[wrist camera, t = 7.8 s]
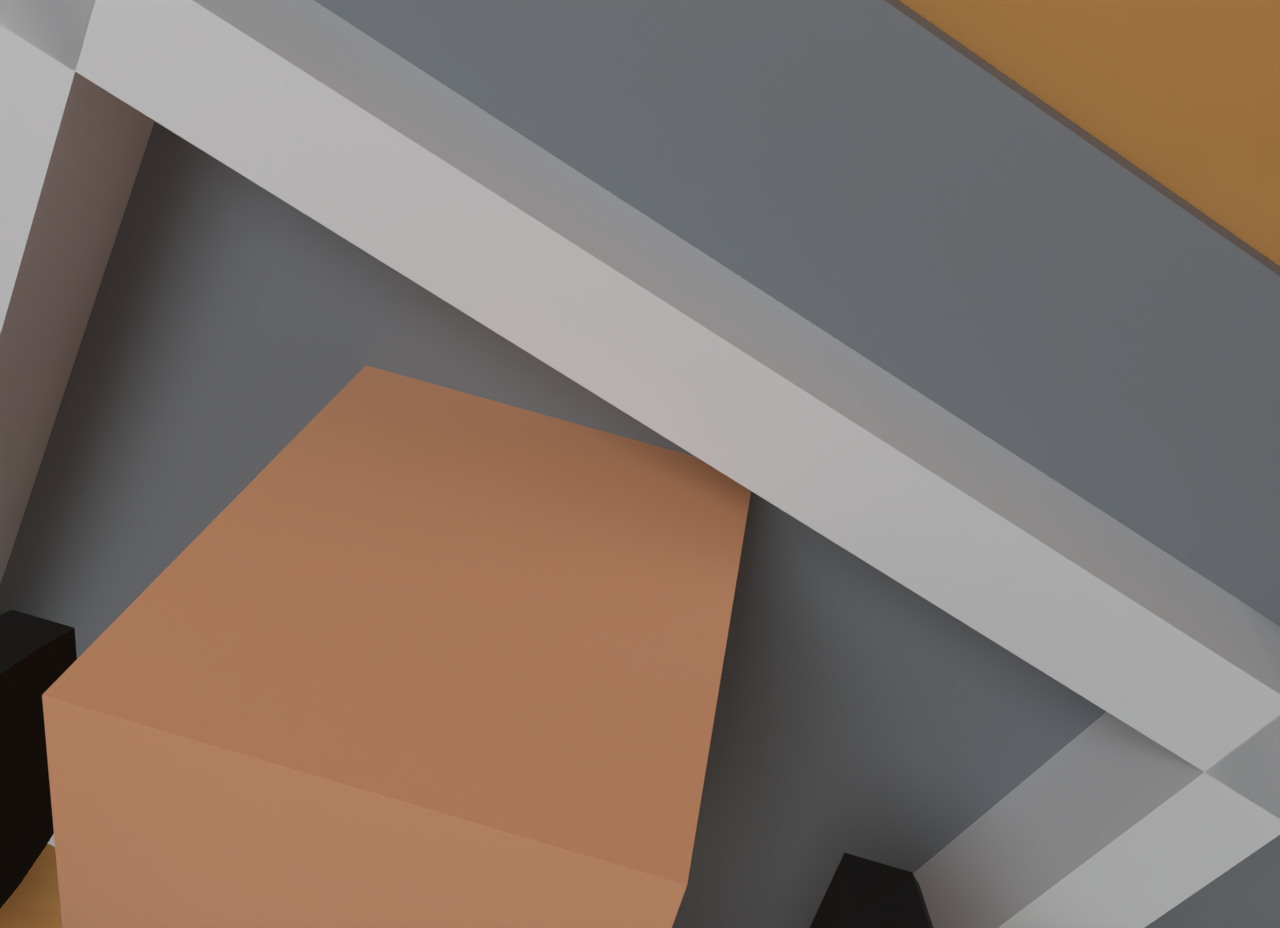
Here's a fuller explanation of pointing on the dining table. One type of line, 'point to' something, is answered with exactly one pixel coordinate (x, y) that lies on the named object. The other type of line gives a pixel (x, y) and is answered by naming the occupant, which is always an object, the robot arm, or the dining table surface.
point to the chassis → (706, 393)
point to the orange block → (409, 684)
